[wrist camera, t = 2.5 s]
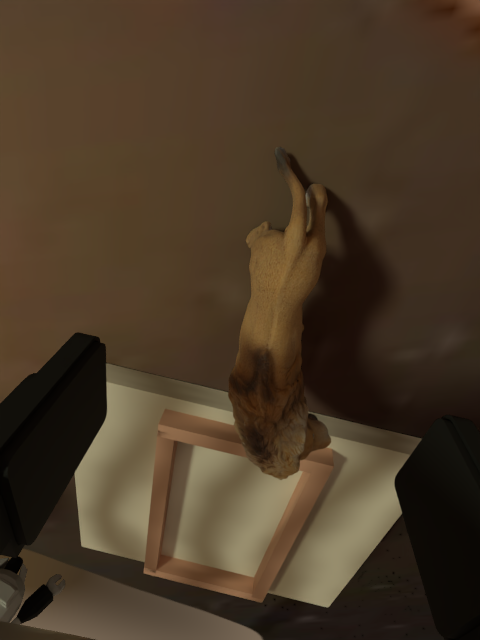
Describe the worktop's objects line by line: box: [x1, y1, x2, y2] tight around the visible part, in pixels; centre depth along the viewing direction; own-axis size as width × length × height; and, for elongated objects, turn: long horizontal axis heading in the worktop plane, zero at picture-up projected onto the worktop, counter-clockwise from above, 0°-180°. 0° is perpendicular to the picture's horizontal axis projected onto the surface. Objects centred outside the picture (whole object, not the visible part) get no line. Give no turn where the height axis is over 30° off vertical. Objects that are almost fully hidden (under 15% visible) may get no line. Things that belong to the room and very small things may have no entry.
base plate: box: [75, 363, 422, 607], centre depth 25 cm, size 22×20×3 cm
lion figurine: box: [228, 147, 331, 480], centre depth 14 cm, size 12×4×7 cm, turn 5°
